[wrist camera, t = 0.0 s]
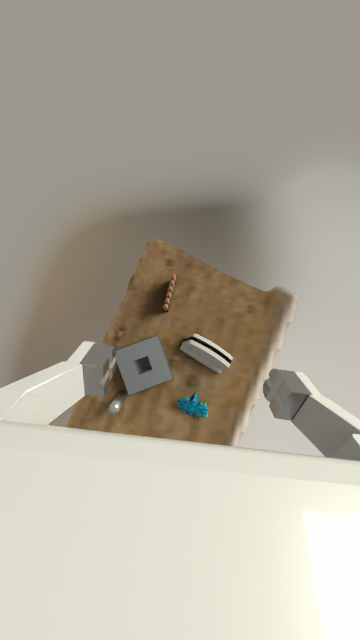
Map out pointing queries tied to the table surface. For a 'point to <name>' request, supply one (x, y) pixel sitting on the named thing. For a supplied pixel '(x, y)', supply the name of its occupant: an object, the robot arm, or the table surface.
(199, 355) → the hinge
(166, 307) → the ammunition clip
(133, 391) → the pin block
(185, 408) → the gear
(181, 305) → the table surface
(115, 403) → the steel pin
